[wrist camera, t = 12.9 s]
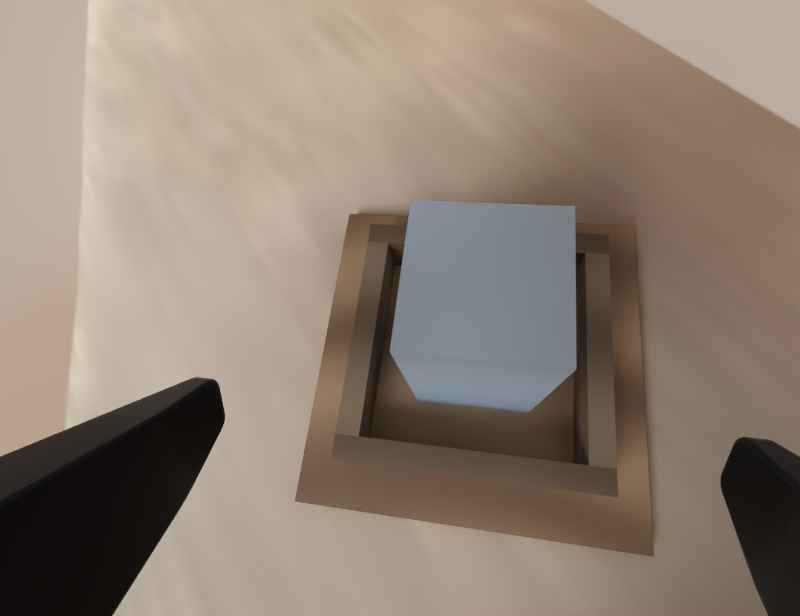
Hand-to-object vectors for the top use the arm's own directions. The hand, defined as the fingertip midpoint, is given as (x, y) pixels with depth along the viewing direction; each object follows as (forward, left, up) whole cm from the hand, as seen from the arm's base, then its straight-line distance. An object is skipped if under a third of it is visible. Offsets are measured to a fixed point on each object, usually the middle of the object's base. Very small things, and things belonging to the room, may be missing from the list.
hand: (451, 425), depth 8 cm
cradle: (+5, -1, -14) cm, 14 cm away
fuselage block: (+5, -1, -13) cm, 14 cm away
